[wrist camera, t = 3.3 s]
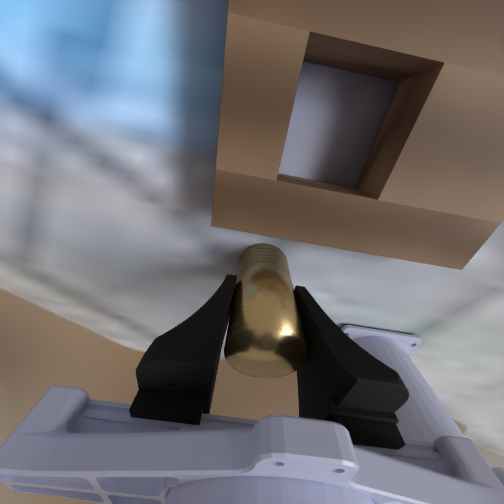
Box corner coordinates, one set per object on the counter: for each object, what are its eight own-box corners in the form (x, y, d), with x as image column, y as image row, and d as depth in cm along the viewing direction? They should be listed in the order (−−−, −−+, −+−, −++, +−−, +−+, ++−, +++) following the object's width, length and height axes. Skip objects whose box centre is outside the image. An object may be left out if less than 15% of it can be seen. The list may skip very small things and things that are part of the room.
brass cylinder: (280, 287, 18) (294, 382, 11) (236, 279, 17) (220, 372, 10) (293, 248, 16) (319, 333, 9) (243, 239, 16) (228, 320, 9)
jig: (427, 247, 15) (461, 269, 13) (220, 210, 14) (211, 226, 12) (578, 28, 9) (701, -16, 7) (246, -56, 9) (239, -142, 6)
